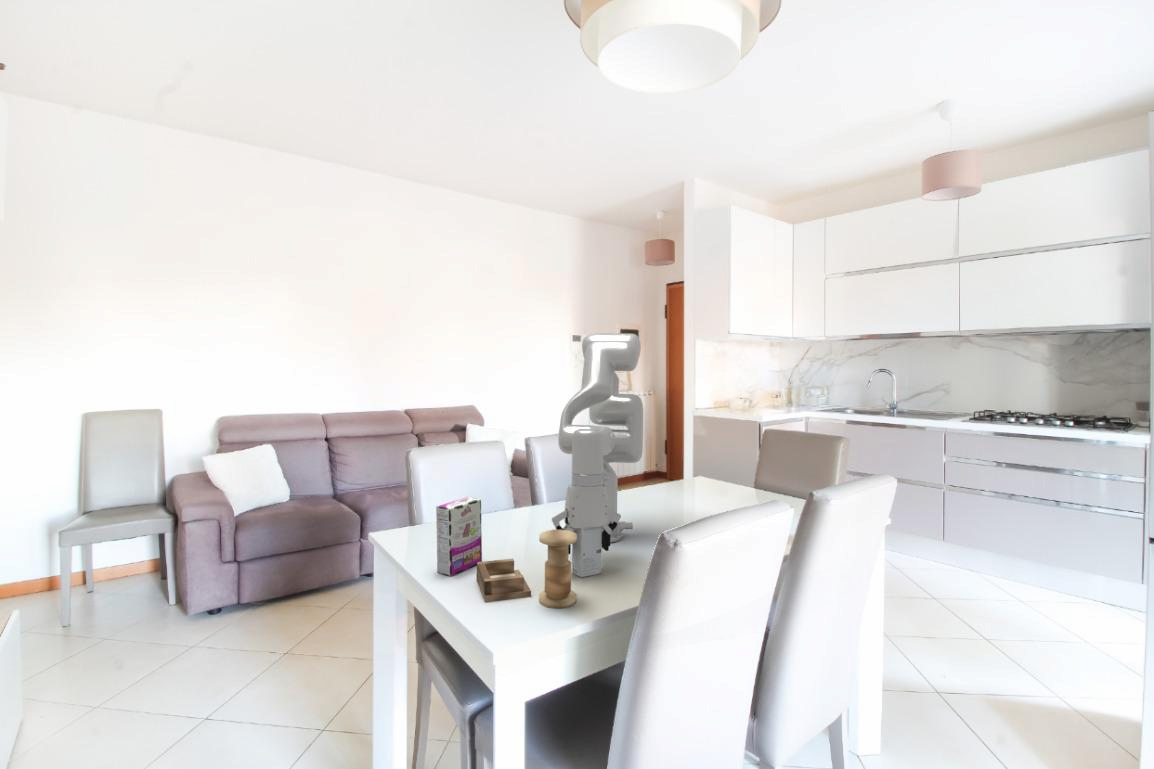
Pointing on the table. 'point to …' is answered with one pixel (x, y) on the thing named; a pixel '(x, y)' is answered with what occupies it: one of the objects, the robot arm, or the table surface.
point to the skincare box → (587, 552)
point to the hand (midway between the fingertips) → (586, 551)
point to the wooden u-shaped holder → (501, 580)
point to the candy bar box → (458, 535)
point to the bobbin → (557, 569)
